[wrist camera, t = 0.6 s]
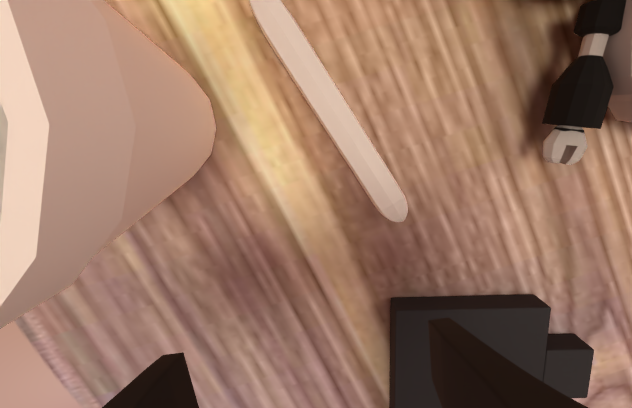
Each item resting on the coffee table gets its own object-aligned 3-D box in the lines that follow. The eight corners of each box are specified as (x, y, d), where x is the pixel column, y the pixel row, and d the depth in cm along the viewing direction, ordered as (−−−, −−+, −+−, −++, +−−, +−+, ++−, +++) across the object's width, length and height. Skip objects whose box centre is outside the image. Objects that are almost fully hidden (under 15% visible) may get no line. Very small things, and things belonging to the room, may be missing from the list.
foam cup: (133, -18, 16) (-526, -529, 4) (282, 113, 17) (172, 68, 5) (32, 136, 18) (-668, 149, 5) (174, 247, 19) (-124, 477, 6)
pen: (260, -32, 16) (253, -51, 14) (413, 210, 18) (421, 218, 17) (233, -11, 16) (223, -27, 15) (387, 226, 19) (393, 235, 17)
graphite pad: (389, 416, 21) (394, 438, 20) (390, 297, 19) (395, 310, 18) (563, 415, 21) (582, 436, 19) (579, 292, 19) (601, 306, 18)
